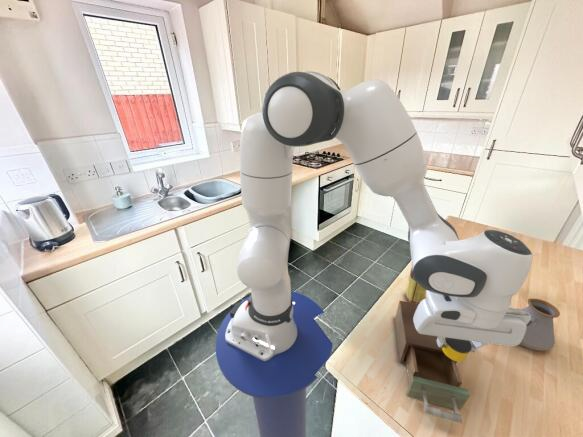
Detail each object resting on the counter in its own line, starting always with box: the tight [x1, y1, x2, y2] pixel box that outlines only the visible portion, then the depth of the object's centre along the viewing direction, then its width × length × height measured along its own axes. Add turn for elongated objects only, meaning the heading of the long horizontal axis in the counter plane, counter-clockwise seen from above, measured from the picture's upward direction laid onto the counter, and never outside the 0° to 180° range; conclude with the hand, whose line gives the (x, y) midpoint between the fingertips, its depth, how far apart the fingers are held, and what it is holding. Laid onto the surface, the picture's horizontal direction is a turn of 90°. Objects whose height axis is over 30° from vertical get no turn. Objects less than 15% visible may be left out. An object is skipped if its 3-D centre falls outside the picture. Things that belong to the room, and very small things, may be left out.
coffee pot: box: [519, 297, 561, 352], centre depth 67 cm, size 21×12×15 cm, turn 119°
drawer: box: [405, 345, 471, 424], centre depth 59 cm, size 18×11×7 cm, turn 164°
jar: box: [442, 337, 472, 363], centre depth 56 cm, size 5×5×4 cm
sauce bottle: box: [405, 268, 427, 304], centre depth 82 cm, size 6×6×20 cm
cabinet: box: [394, 300, 458, 365], centre depth 69 cm, size 15×13×9 cm
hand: (455, 346), depth 56 cm, fingers closed on jar, 5 cm apart
